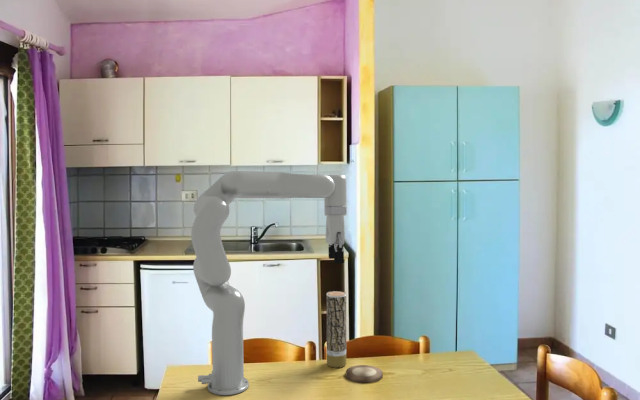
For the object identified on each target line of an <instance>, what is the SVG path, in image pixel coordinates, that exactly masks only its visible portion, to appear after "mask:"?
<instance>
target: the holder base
mask: <svg viewBox="0 0 640 400" xmlns="http://www.w3.org/2000/svg"><path fill="white" fill-rule="evenodd" d="M345 376H346V378H347V379H348V380H350V381H352V382H355V383H358V384H359V383H360V384H370V383H376V382H379V381H381V380H382V379H383V370H382V369H380V368H379V367H377V366H374V365H369V364H367V365H366V364H360V365H359V364H358V365H353V366H350V367H348V368H347V369H346V371H345Z"/></svg>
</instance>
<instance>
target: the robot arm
mask: <svg viewBox="0 0 640 400" xmlns="http://www.w3.org/2000/svg"><path fill="white" fill-rule="evenodd" d="M235 199H280V200H281V199H283V200H284V199H324V206H323V207H324V216H326V220H325V242H326V243H327V244H328V259H329V260H330V259H331V260H332V259H333V261H334V262H333V263H334V265H335V264H337V265H339V264H344V263H345V253H344V252H345V250H344V244H345V237H346V236H345V234H346V232H345V230H346V229H345V216H347V215H348V214H347V205H348V204H347V202H348V201H347V177H346V176H345V175H344V174H319V173H317V174H315V173H314V174H309V173H308V174H306V173H289V172H283V171H253V170H250V171H249V170H230V171H228V172H226V173H224V174H223V175H221V176H220V177H219V178H218V179H217V180H216V181H215V182H214V183H212V185H210V187H208V188H207V189H206V190H204V192H202V194H201V195H200V196H199V197H197V198H196V199H195V202H194V204H193V212H194V215H195V218H194V220H193V223H192V227H191V231H190V232H191V233H190V239H191V244H192V246H193V250H194V255H195V259H194V261H193V264H192V268H193V274H194V278H195V280H196V284H197V285H198V286H197V287H198V288H199V292H200V293H201V297H202V299H203V302H204V304H205V305H206V307H207V308H208V309H210V310H211V311H212V313H213V318H212V324H211V347H212V349H211V353H212V356H211V357H212V370H211V373H208V374H205V375H204V374H202V375H200V374H199V375H198V376H197V383H201V385H206V384H207V390H208V391H209V392H210V393H212V394H213V395H218V396H233V395H237V394H240V393H243V392H245V391H246V390H248V388H249V386H250V382H249V380H248V379H247V378H245V377H244V375H245V374H244V372H245V370H244V369H245V368H244V363H245V362H244V318H245V317H244V316H245V311H246V310H245V309H246V303H245V298H244V297H243V295H242V293H241V292H240V291H239V290H238V288H235V287H233V286H231V285H230V283H229V280H230V279H231V275H232V269H231V264H230V262H229V259H228V257H227V254H226V251H225V249H224V248H225V247H224V244H223V241H222V237H221V229H222V226H223V225H224V224H225V222H226V220H227V219H228V217H229V215H230V211H231V210H230V209H231V208H230V204H231V203H232V202H233V201H234V200H235Z"/></svg>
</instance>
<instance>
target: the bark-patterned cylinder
mask: <svg viewBox="0 0 640 400" xmlns="http://www.w3.org/2000/svg"><path fill="white" fill-rule="evenodd" d="M325 305H326V364H327V366H328V367H330V368H334V367H335V368H336V369H338V367H340V368H342V367H345V366H346V364H347V293H346V292H344V291H340V290H339V291H337V290H336V291H335V290H333V291H328V292H326V304H325ZM335 368H334V369H335Z"/></svg>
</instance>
